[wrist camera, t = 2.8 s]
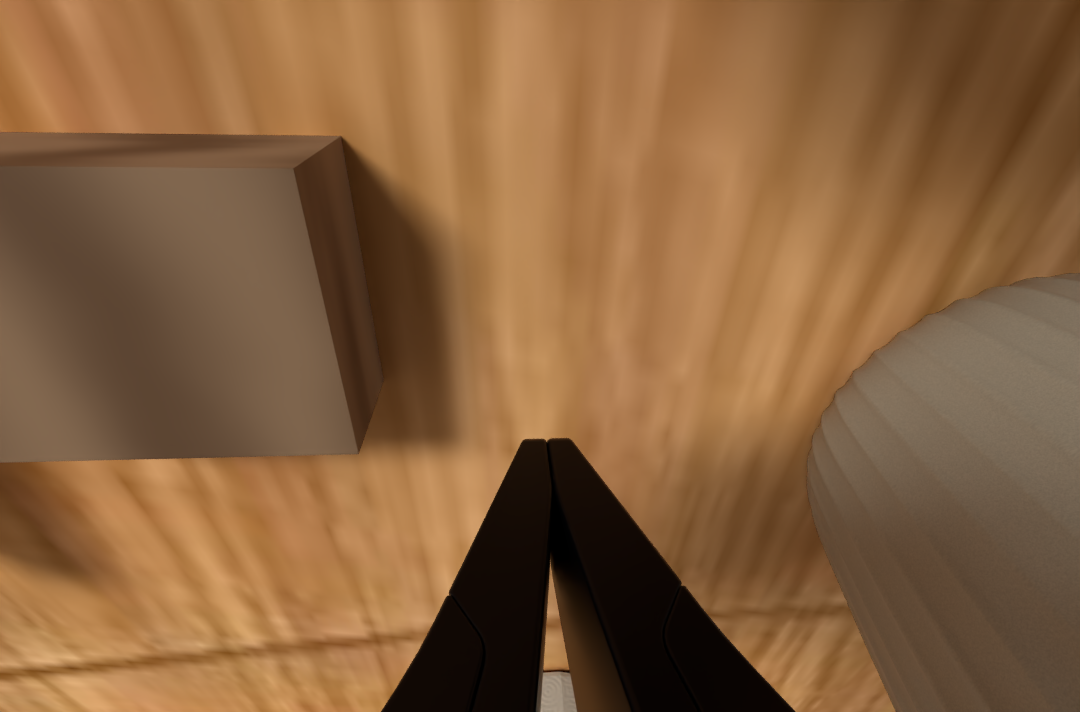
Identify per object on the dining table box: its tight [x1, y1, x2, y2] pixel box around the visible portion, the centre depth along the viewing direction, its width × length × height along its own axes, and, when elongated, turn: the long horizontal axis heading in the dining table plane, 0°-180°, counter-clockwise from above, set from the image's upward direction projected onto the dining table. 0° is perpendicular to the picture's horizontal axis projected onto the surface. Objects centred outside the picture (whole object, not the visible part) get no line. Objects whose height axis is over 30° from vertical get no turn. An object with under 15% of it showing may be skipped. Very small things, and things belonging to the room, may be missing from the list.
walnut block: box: [0, 132, 384, 463], centre depth 14 cm, size 10×8×4 cm
